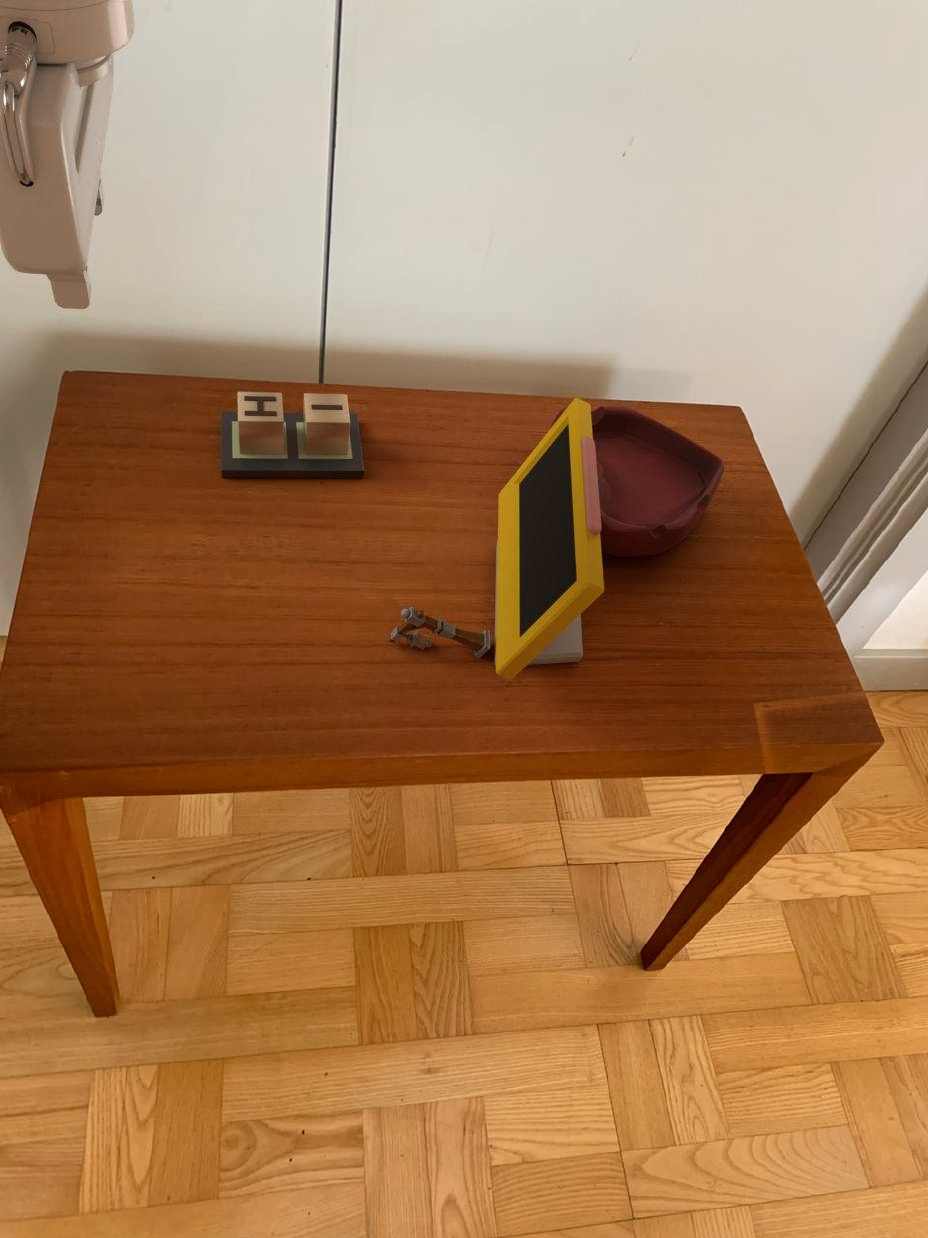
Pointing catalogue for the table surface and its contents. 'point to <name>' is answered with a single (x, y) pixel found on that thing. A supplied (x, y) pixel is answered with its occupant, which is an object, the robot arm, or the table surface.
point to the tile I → (326, 424)
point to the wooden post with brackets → (443, 629)
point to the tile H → (260, 423)
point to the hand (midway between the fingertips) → (82, 252)
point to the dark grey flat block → (288, 454)
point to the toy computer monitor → (548, 548)
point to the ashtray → (648, 481)
